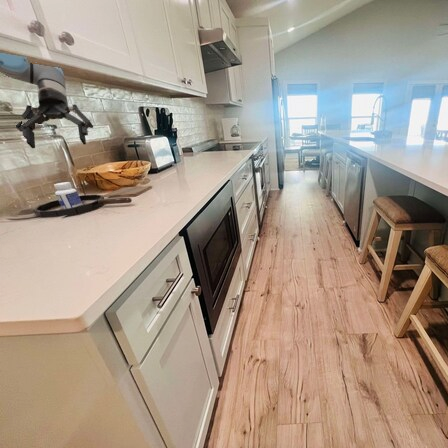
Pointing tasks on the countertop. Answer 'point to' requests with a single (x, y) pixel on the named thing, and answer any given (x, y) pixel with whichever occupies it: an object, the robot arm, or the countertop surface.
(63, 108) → the robot arm
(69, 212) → the pan
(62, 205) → the pill bottle
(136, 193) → the trivet
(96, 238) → the countertop surface
